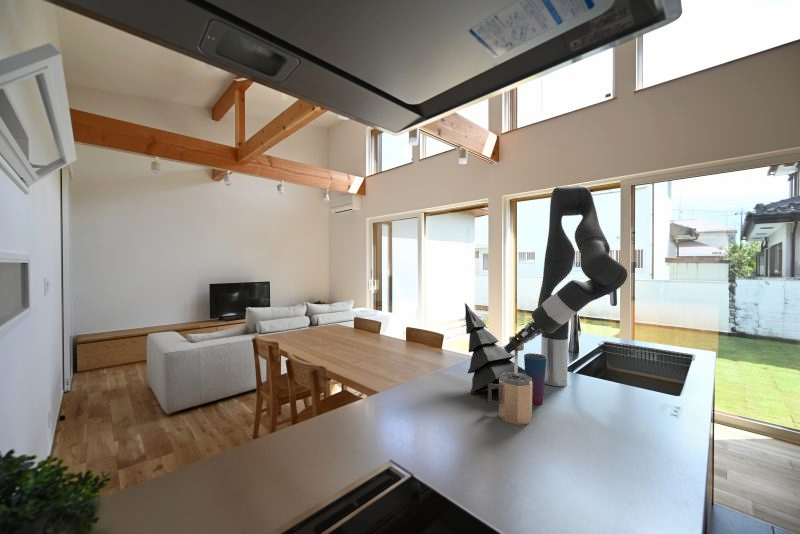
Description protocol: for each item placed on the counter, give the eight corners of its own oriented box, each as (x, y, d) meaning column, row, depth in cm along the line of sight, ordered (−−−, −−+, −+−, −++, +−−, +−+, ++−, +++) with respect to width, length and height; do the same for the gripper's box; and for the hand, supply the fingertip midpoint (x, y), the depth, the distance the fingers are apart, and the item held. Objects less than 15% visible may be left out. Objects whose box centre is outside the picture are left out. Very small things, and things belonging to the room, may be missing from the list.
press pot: (486, 412, 101) (486, 373, 101) (520, 409, 104) (521, 371, 103) (500, 426, 93) (501, 383, 93) (537, 423, 95) (537, 381, 95)
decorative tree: (505, 397, 121) (468, 311, 138) (534, 384, 110) (490, 292, 128) (474, 405, 114) (439, 313, 131) (501, 392, 103) (460, 294, 120)
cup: (547, 407, 106) (548, 359, 105) (524, 405, 107) (525, 358, 107) (543, 398, 112) (544, 354, 112) (521, 396, 114) (522, 352, 113)
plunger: (505, 397, 100) (506, 336, 100) (517, 396, 101) (519, 336, 100) (512, 402, 96) (513, 339, 96) (525, 401, 97) (526, 339, 97)
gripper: (551, 300, 99) (510, 335, 107) (535, 304, 88) (490, 343, 96) (570, 320, 95) (526, 354, 103) (556, 327, 84) (508, 365, 92)
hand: (509, 348), depth 99 cm, fingers closed on plunger, 4 cm apart
